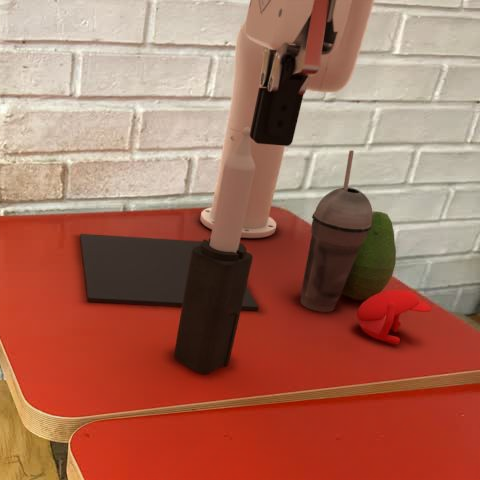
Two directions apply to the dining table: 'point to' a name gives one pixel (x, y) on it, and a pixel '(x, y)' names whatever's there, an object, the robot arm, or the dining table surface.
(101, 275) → the mat
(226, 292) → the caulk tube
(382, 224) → the fruit
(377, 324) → the red animal figurine
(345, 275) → the beverage cup
